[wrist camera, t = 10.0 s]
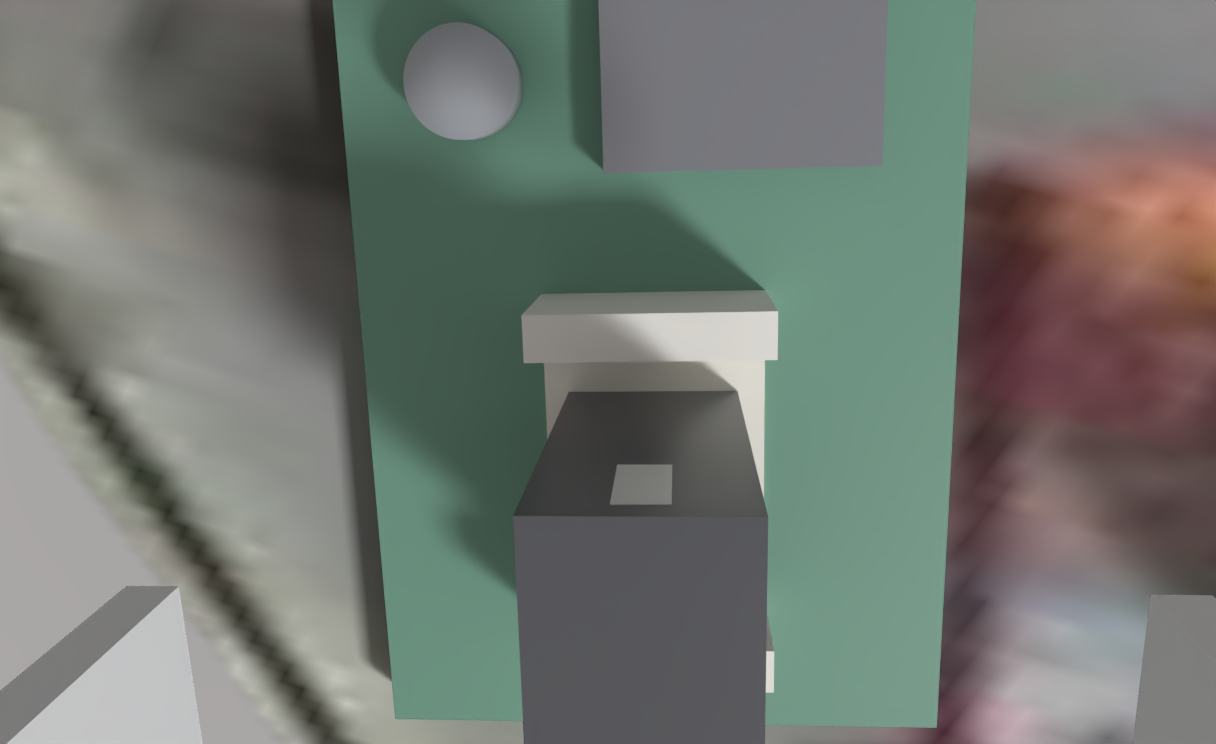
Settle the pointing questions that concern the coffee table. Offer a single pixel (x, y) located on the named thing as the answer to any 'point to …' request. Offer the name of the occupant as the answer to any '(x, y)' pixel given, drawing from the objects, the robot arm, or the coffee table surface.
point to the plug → (643, 574)
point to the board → (664, 303)
